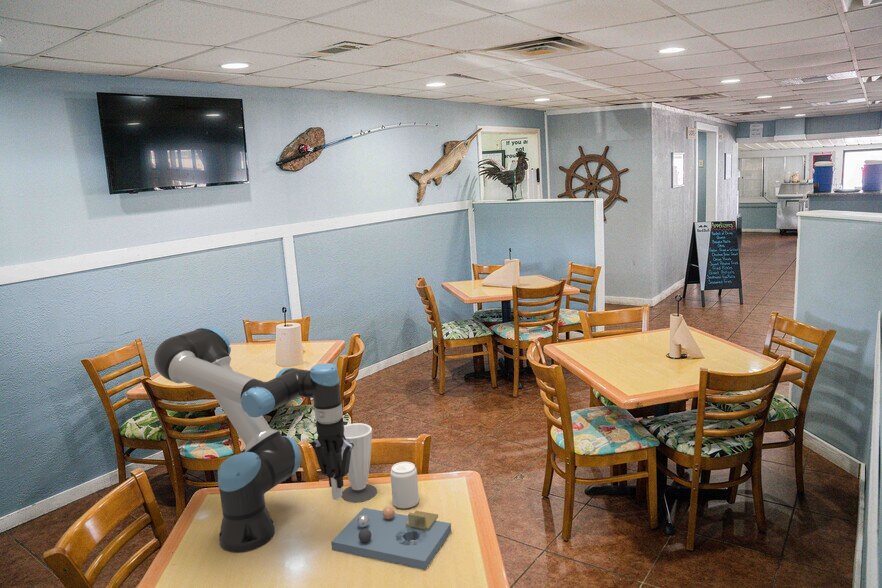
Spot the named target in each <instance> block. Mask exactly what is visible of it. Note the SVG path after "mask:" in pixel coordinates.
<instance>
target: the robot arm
mask: <svg viewBox="0 0 882 588" xmlns="http://www.w3.org/2000/svg"><path fill="white" fill-rule="evenodd" d="M231 350H232V347H231V343H230V340H229V338H228V336H227V335H226V333H225V332H223V330H221V329H219V328H217V327H213V326H206V327H200V328H196V329H195V330H190V331H188V332H184V333H182V334H178V335H175V336H171V337H169V338H166V339H165V340H163V341H162V342H161V343H160V344H159V345H158V347H157V348H156V350H155V353H154V358H153V359H154V361H153V362H154V367H155V368H156V371H157V372H158V374H159V375H160V376H162V377H163V378H165V379H166V380H168V381H170V382H172V383H175V384H184V383H185V384H188V385H191V386H194V387H196V388H199V389H201V390H204V391H206V392H208V393H212V395H213V396H214V397H215V400H216V401H217V402H218V404H219V406H220V407H221V410H223V412H224V414H225V415H226V417H227V418H228V420H229V421H230V424H231V425H232V426H233V428H234V429H235V431H236V432H237V434H238V436H239V437H240V438H241V440H242V442H243V444H244V445H245V449H244V452H243V451H242V452H240V453H239V454H234V455H231V456H229V457H227V458H226V459H225V460H223V462H222V463H221V464H220V465H219V467H218V469H217V478H218V479H217V485H218V490H219V491H218V492H219V495H220V504H221V510H222V521H221V525H220V530H219V534H218V538H219V546H220V547H221V548H222V549H223V550H225V551H227V552H231V553H242V552H248V551H252V550H255V549H258V548H260V547H262V546H264V545H265V544H267V543H268V542H269V541H270V540H272V539H273V537H274V535H275V532H276V529H275V523H274V520H273V519H272V517H271V515H270V513H269V511H268V509H267V507H266V499H265V494H266V493H268V492H269V491H271V489H274V488H275V487H276V486H278V485H280V484H281V483H283V482H284V481H285V480H288V479H290V477H291V476H293V475H294V474H296V473H297V471H298V470H299V469H300V466H301V463H302V453H301V449H300V446H299V445H298V443H297V441H296V440H295V439H294V438H293V437H290V436H287V435H282V433H281V432H280V431H279V429H278V430H277V429H272V428H271V426H270V425H269V424H268V422H267V420H266V419H265V418H264V415H267V414H269V413H270V412H272V411H275V410H277V409H278V408H279V407H281V406H283V405H285V404H287V403H289V402H291V401H293V400H296V399H297V398H307V399H312V401H313V407H314V416H315V417H314V419H315V421H316V422H315V429H316V434H317V437H316V438H315V439H314V440H313V441H312V442H310V446H311V447H312V449H313V450H314V454H315V457H316V460H317V462H318V466H319V468H320V472H321V474H322V475H326V476H327V478H328V483H329V484H328V485H329V488H331V494H332V500H336V501H338V500H340V498H341V497H342V492H343V489H342V488H343V486H344V477H345V476H347V473H348V472H349V465H350V457H351V450H352V448H353V447H354V444H353V443H348V442H347V441H346V438H345V436H344V426H345V424H344V418H343V416H344V413H343V404H342V399H341V386H340V385H341V383H340V381H341V380H340V376H339V369H338V367H337V365H336V364H334V363H329V362H326V363H323V362H322V363H317V364H315V365H313V366H312V367H310V370H307V369H299V368H296V367H290V368H289V367H286V368H282V369H280V370H279V372H278V373H277V374H276V376H275V377H274V378H272V379H270V380H268V381H263V380H261V379H256V378H254V377H252V376H248V375H246V374H243V373H240V372H238V371H235V370H233V368H232V367H231V360H232V357H231V356H230V354H231V352H232V351H231ZM342 446H344V447H343V450H344V452H343V458H342V456H341V452H342Z"/></svg>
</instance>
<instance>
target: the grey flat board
mask: <svg viewBox="0 0 882 588" xmlns="http://www.w3.org/2000/svg"><path fill="white" fill-rule="evenodd" d="M382 512H383V510H379V509H374V508H369V507H362V509H361V510H359V512H358V513H357V514H355V516H354V517H353V518H352V519H351V520H350V522H348V523H347V525H346V526H345V527H344V528H343V529H342V530H340V532H339V533H338V534H337V535H336V536H335V537H334V538H333V539H332V540H331V551H336V552H340V553H344V554H350V555H354V556H359V557H363V558H369V559H372V560H378V561H380V562H381V561H382V562H387V563H392V564H396V565H401V566H406V567H411V568H415V569H420V570H424V571H426V570H427V569H428V567H429V566H430V564H431V563H432V561H433V560H434V559H435V557H436V555H437V553H438V552H439V550H440V549H441V547H442V546H443V544H444V543H445V541H446V540H447V538H448V537H449V535H450V533H452V523H451V522H446V521H440V520H436V521H435V522H434V524H433V525H432V526H431V528H430V529H429V530H424V529H419V528H413V527H408V526H406V522H407V521H408V514H407V515H406V514H401V513H396V512H395V514H394V516H393V518H391V519H385V518H384V517H383V514H382ZM360 515H366V516H368V518H369V524H368V526H366V527H365V528H361V527H359V526H358V525H357V518H358V517H359V516H360ZM362 529H368V530H370V532H371V539H370V540H369V541H368V542H361V541H360V540H359V537H358V535H359V532H360V531H361V530H362Z"/></svg>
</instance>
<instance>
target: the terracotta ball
mask: <svg viewBox="0 0 882 588" xmlns="http://www.w3.org/2000/svg"><path fill="white" fill-rule="evenodd" d="M382 511H383V512H382V514H383V517H384V518H385V519H391V518H393V516H394V514H395V513H396V512H395V510H394V508H393V507H392V506H385V507H384V508H383V510H382Z"/></svg>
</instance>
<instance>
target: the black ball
mask: <svg viewBox="0 0 882 588" xmlns="http://www.w3.org/2000/svg"><path fill="white" fill-rule="evenodd" d="M358 537H359V540H360V541H361V542H368V541H369V540H370V539H371V532H370V530H368V529H362V530H361V531H360V532H359V535H358Z"/></svg>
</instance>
